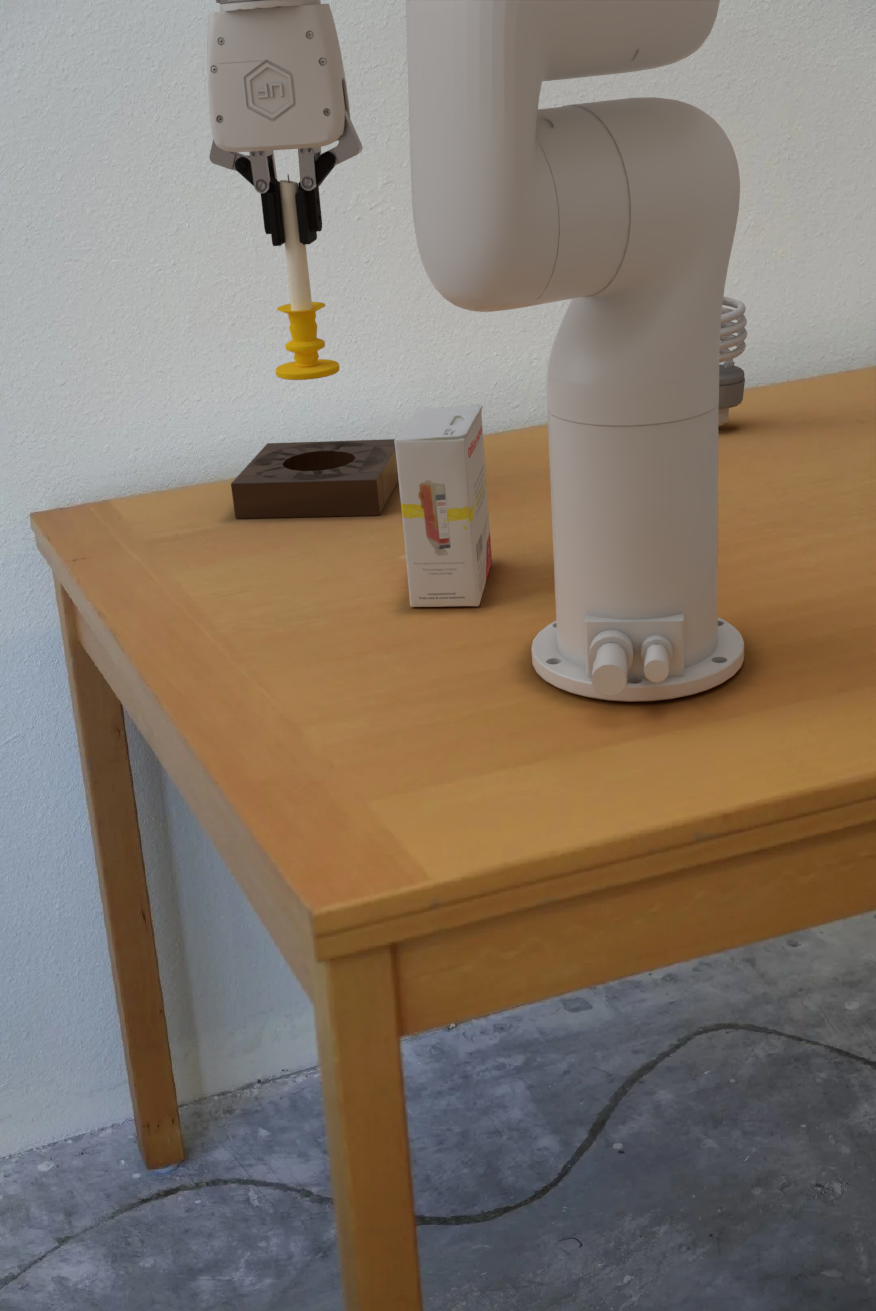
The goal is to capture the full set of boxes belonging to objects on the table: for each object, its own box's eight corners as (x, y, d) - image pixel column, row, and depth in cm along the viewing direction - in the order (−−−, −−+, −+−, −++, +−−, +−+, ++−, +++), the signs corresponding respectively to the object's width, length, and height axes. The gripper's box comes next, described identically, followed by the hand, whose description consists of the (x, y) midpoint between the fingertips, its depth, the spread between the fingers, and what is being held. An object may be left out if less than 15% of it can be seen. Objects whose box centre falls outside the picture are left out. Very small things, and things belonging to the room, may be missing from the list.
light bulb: (711, 417, 138) (711, 287, 134) (758, 426, 134) (761, 293, 130) (670, 430, 135) (669, 297, 131) (717, 440, 131) (718, 303, 126)
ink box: (426, 564, 107) (414, 404, 102) (494, 563, 106) (484, 401, 101) (406, 609, 99) (391, 437, 94) (479, 608, 98) (467, 435, 94)
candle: (343, 363, 123) (325, 168, 117) (335, 378, 118) (315, 175, 112) (282, 367, 123) (260, 172, 117) (270, 381, 119) (247, 179, 112)
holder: (379, 515, 118) (376, 479, 117) (235, 518, 120) (230, 483, 119) (404, 472, 129) (401, 438, 128) (271, 475, 131) (267, 443, 130)
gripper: (150, -5, 107) (185, 255, 114) (362, -22, 105) (384, 245, 112) (181, -5, 114) (212, 240, 121) (381, -21, 111) (400, 230, 119)
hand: (295, 241), depth 116 cm, fingers closed on candle, 1 cm apart
